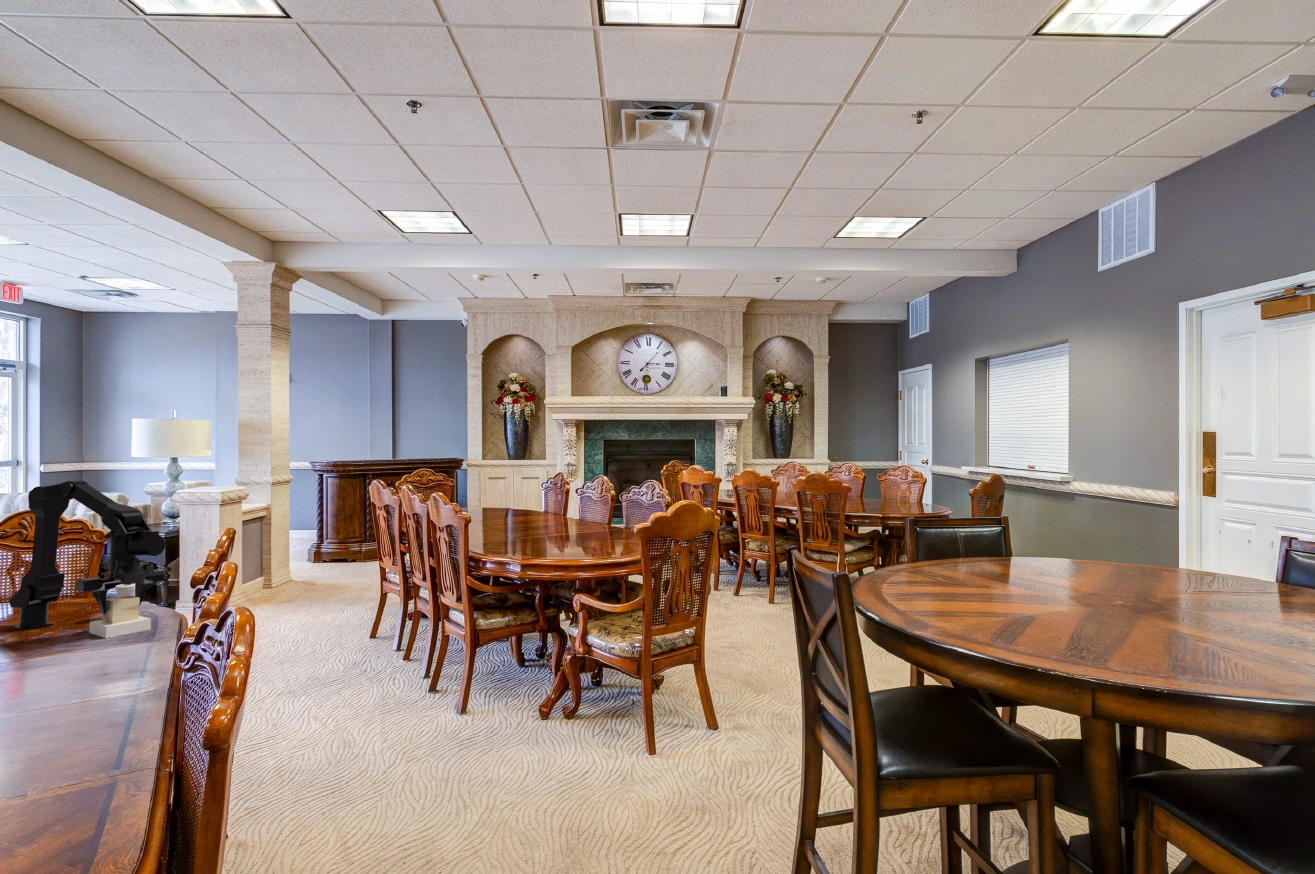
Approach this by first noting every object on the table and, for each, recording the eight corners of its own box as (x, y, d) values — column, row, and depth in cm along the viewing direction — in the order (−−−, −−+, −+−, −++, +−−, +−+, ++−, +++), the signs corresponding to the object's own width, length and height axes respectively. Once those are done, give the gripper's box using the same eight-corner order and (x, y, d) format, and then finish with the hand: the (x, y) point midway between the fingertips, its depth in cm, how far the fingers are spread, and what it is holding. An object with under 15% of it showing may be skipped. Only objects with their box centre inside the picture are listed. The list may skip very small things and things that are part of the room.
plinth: (89, 632, 173) (89, 621, 173) (133, 624, 182) (133, 614, 182) (106, 638, 168) (106, 626, 168) (150, 629, 177) (151, 618, 177)
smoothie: (125, 620, 186) (127, 572, 186) (107, 619, 187) (109, 571, 187) (146, 615, 192) (148, 569, 192) (129, 614, 193) (131, 568, 194)
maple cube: (102, 621, 174) (103, 599, 174) (128, 616, 179) (129, 595, 179) (112, 624, 171) (113, 601, 171) (138, 619, 176) (139, 597, 176)
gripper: (94, 561, 163) (91, 622, 163) (176, 552, 180) (174, 608, 179) (75, 558, 169) (72, 616, 168) (157, 549, 185) (154, 603, 185)
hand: (120, 611), depth 175 cm, fingers open, 7 cm apart
